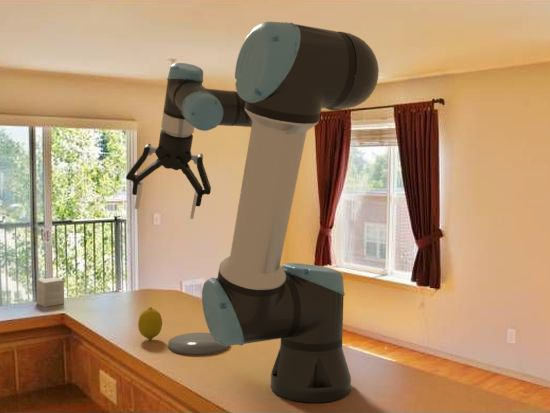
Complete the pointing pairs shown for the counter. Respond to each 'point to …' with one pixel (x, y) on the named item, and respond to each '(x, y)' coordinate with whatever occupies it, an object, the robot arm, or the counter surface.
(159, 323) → the lemon
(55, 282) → the product box
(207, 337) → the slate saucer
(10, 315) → the counter surface
